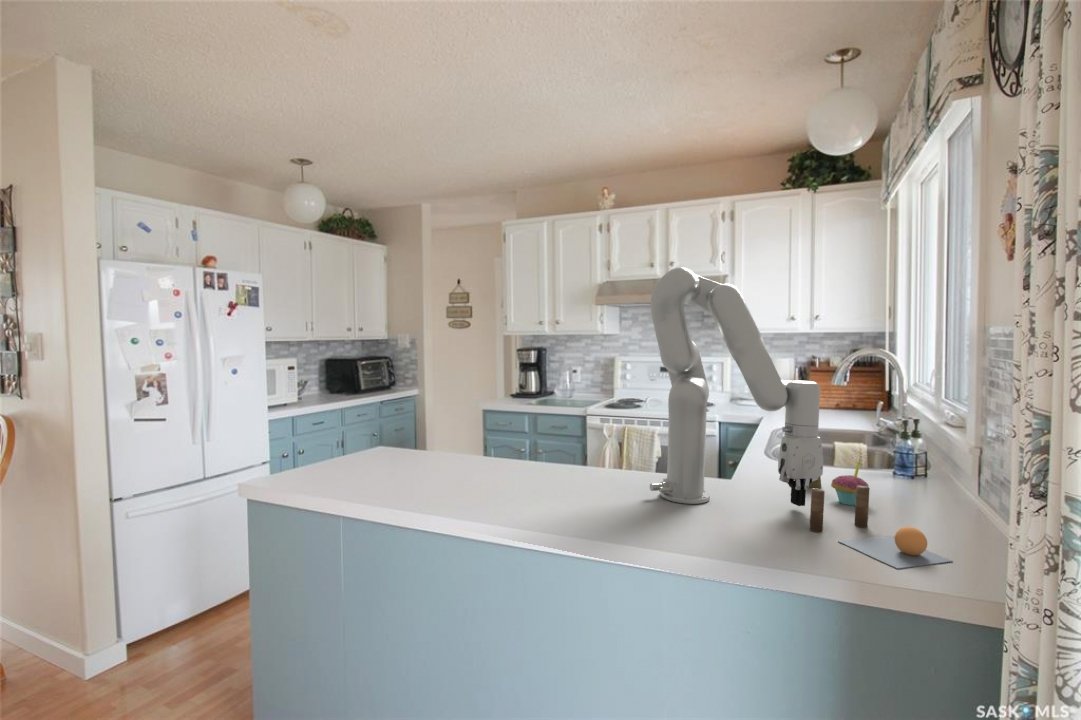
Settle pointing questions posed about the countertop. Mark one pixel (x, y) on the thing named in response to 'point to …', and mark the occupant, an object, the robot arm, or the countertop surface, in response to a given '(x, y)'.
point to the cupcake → (848, 486)
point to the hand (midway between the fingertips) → (797, 504)
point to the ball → (910, 541)
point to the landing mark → (892, 552)
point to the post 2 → (862, 506)
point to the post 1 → (817, 510)
